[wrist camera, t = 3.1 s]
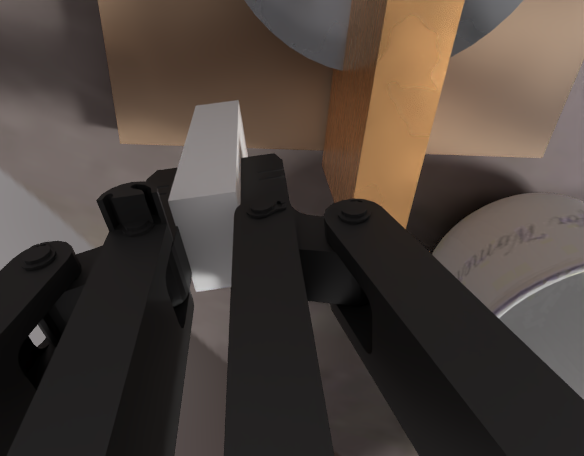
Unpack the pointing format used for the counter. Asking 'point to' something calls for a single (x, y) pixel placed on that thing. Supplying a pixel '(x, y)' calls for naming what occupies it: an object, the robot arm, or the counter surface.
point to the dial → (380, 81)
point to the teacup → (528, 273)
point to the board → (330, 77)
